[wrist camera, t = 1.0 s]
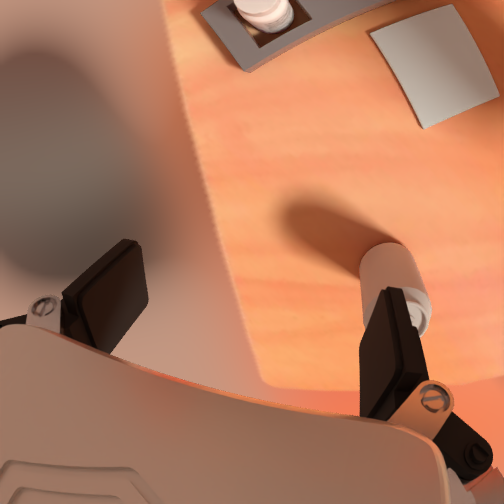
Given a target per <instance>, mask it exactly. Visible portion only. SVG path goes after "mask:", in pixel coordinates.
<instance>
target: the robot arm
mask: <svg viewBox="0 0 504 504" xmlns="http://www.w3.org/2000/svg"><path fill="white" fill-rule="evenodd" d="M62 295H63V299H62V300H61V301H60V299H59V298H58V297H57V296H54V295H45V296H41V297H39V298H37V299H36V300H34V301H33V302H32V303H31V305H30V306H29V308H28V313H27V314H26V315H22V316H18V317H14V318H10V319H6V320H2V321H0V504H504V478H503V476H502V474H501V473H500V471H499V470H498V468H497V467H496V468H494V469H493V467H492V466H491V464H492V461H493V452H492V449H491V446H490V445H489V443H488V442H487V441H486V440H485V439H484V438H482V437H481V436H480V435H479V434H478V433H477V432H476V431H474V430H473V429H472V428H471V427H470V426H469V425H467V424H466V423H465V422H464V421H463V420H461V419H460V418H459V417H458V416H457V415H456V414H454V413H453V412H452V410H453V407H454V398H453V395H452V393H451V391H450V390H449V389H448V388H447V387H446V386H445V385H444V384H442V383H440V382H438V381H434V380H429V376H428V371H427V367H426V362H425V358H424V353H423V349H422V345H421V341H420V337H419V333H418V329H417V327H415V326H412V322H411V318H410V314H409V310H408V307H407V303H406V300H405V296H404V293H403V290H402V289H401V288H396V287H390V286H387V287H386V289H385V290H384V289H382V290H381V291H380V293H379V296H378V299H377V301H376V304H375V307H374V310H373V312H372V315H371V317H370V320H369V323H368V325H367V328H366V330H365V333H364V335H363V337H362V340H361V343H360V347H359V363H360V417H359V416H353V415H346V414H338V413H331V412H325V411H319V410H312V409H307V408H301V407H295V406H290V405H284V404H279V403H274V402H268V401H264V400H260V399H255V398H251V397H246V396H242V395H238V394H234V393H230V392H226V391H222V390H218V389H214V388H210V387H207V386H203V385H199V384H196V383H192V382H189V381H186V380H183V379H179V378H176V377H173V376H170V375H166V374H163V373H160V372H157V371H154V370H151V369H148V368H146V367H142V366H140V365H137V364H134V363H131V362H129V361H126V360H123V359H120V358H118V357H115V356H113V355H110V353H111V352H112V351H113V349H114V348H115V347H116V345H117V344H118V343H119V341H120V340H121V339H122V337H123V336H124V335H125V333H126V332H127V331H128V330H129V328H130V327H131V326H132V324H133V323H134V322H135V320H136V319H137V318H138V316H139V315H140V314H141V313H142V311H143V310H144V309H145V308H146V306H147V304H148V292H147V285H146V279H145V272H144V265H143V257H142V249H141V246H140V245H138V242H137V241H134V240H129V239H123V240H121V241H120V242H119V243H118V244H116V245H115V246H114V247H113V248H112V249H110V250H109V251H108V252H107V253H105V254H104V255H103V256H102V257H101V258H100V259H98V260H97V261H96V262H95V263H94V264H93V265H92V266H90V267H89V268H88V269H87V270H86V271H85V272H84V273H82V274H81V275H80V276H79V277H78V278H77V279H76V280H75V281H74V282H72V283H71V284H70V285H69V286H68V287H67V288H66V289H65V290H64V291H63V292H62Z"/></svg>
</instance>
